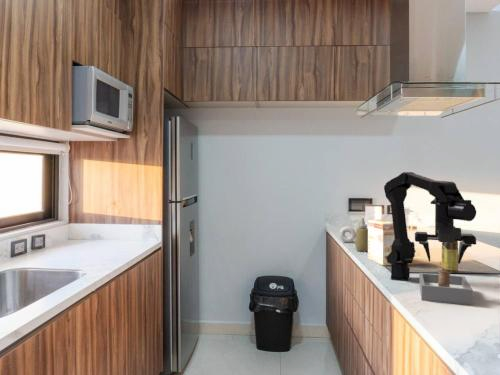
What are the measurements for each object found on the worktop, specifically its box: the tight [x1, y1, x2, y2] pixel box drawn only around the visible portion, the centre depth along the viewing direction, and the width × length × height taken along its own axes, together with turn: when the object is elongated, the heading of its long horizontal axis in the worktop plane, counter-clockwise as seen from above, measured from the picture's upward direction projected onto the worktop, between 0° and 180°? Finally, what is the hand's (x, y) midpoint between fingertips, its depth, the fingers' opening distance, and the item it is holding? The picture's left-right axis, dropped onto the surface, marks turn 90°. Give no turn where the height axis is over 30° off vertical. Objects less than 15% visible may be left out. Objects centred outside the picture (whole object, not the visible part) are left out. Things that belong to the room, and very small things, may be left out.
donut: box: [338, 226, 356, 244], centre depth 235 cm, size 10×3×10 cm, turn 75°
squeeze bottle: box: [354, 217, 368, 253], centre depth 210 cm, size 8×8×18 cm
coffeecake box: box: [367, 219, 395, 266], centre depth 184 cm, size 15×7×20 cm, turn 9°
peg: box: [438, 270, 451, 287], centre depth 134 cm, size 4×4×8 cm
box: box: [418, 272, 474, 306], centre depth 134 cm, size 15×17×5 cm
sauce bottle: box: [441, 225, 459, 274], centre depth 164 cm, size 6×6×20 cm
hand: (444, 262), depth 134 cm, fingers open, 9 cm apart
